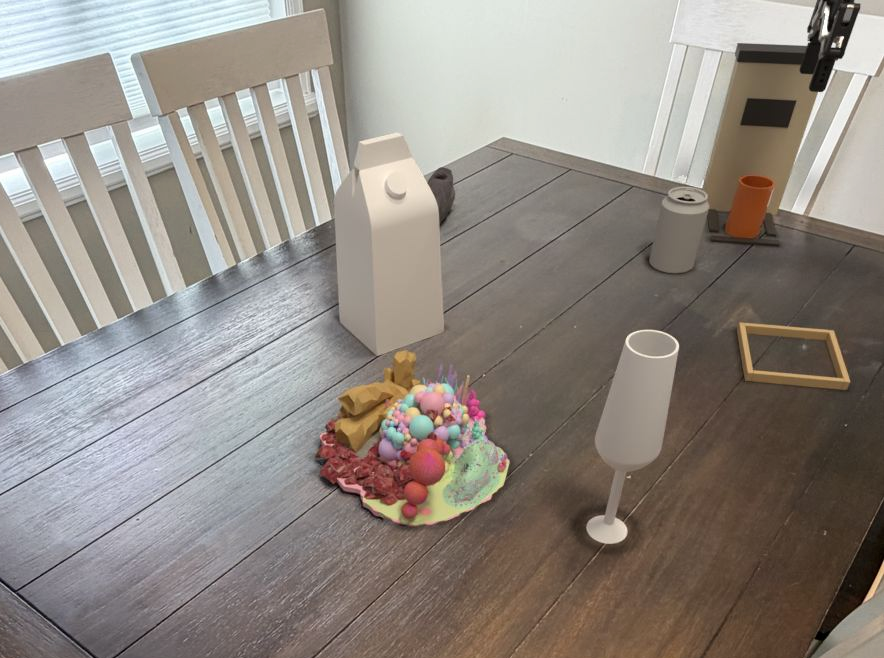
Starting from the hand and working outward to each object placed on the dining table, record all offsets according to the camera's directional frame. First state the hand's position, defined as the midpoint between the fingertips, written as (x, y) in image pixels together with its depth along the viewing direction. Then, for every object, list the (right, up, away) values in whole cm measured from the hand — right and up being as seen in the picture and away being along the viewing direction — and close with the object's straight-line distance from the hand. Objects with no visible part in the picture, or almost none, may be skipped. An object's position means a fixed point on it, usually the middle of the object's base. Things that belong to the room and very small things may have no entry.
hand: (810, 82), depth 108 cm
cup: (0, -10, +25) cm, 27 cm away
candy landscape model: (-58, -59, -15) cm, 84 cm away
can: (-15, -20, +17) cm, 31 cm away
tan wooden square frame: (-4, -42, -2) cm, 43 cm away
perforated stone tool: (-56, -5, +30) cm, 63 cm away
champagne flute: (-36, -69, -24) cm, 82 cm away
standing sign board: (+1, -8, +27) cm, 28 cm away
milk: (-62, -35, +5) cm, 72 cm away
